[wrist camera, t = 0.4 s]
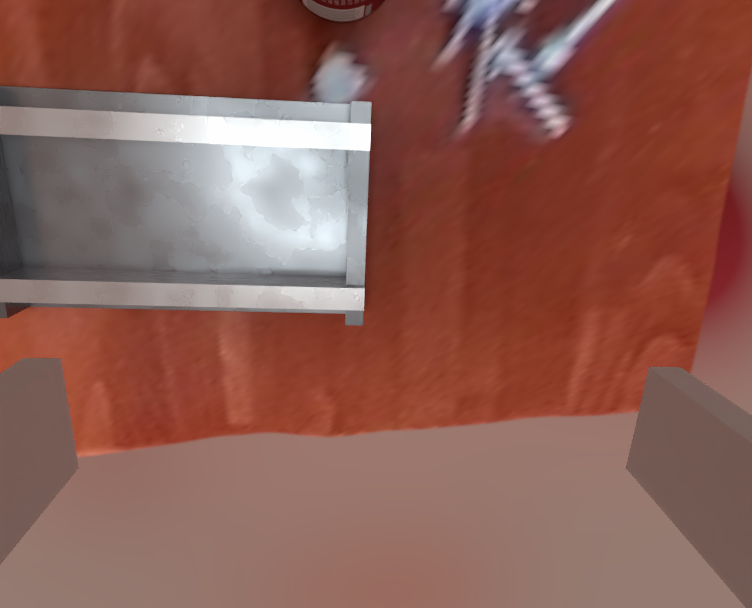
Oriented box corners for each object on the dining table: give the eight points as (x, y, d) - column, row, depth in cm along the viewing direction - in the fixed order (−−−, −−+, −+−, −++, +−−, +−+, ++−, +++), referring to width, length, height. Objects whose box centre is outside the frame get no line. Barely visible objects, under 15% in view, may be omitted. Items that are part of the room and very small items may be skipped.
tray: (-18, 86, 31) (-68, 78, 27) (368, 106, 33) (372, 101, 29) (20, 301, 35) (-19, 320, 32) (361, 309, 37) (363, 328, 33)
